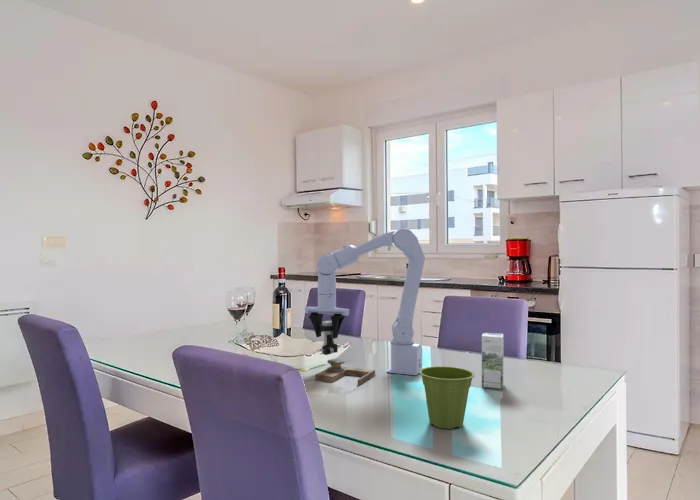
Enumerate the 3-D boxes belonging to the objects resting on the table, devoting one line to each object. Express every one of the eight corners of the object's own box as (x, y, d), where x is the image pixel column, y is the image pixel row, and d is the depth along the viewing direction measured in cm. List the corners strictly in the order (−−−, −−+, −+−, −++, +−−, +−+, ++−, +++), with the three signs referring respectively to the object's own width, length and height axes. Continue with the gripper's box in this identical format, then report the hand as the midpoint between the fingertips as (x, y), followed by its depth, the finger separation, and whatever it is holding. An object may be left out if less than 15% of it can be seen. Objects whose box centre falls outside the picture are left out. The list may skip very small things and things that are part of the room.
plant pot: (482, 433, 103) (482, 378, 103) (426, 434, 102) (426, 379, 102) (464, 413, 115) (464, 365, 115) (414, 415, 114) (414, 366, 114)
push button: (325, 357, 152) (323, 325, 152) (314, 354, 156) (312, 323, 156) (341, 352, 157) (339, 321, 156) (330, 350, 161) (328, 319, 160)
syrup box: (503, 384, 139) (503, 332, 139) (503, 390, 134) (503, 336, 134) (482, 382, 141) (482, 331, 141) (481, 388, 136) (481, 335, 136)
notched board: (375, 375, 149) (375, 361, 149) (359, 385, 138) (359, 370, 138) (333, 370, 155) (333, 357, 155) (315, 379, 144) (315, 365, 144)
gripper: (300, 294, 155) (300, 337, 155) (342, 296, 149) (342, 341, 149) (311, 292, 161) (311, 334, 162) (352, 294, 155) (351, 337, 156)
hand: (326, 337), depth 156 cm, fingers closed on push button, 5 cm apart
